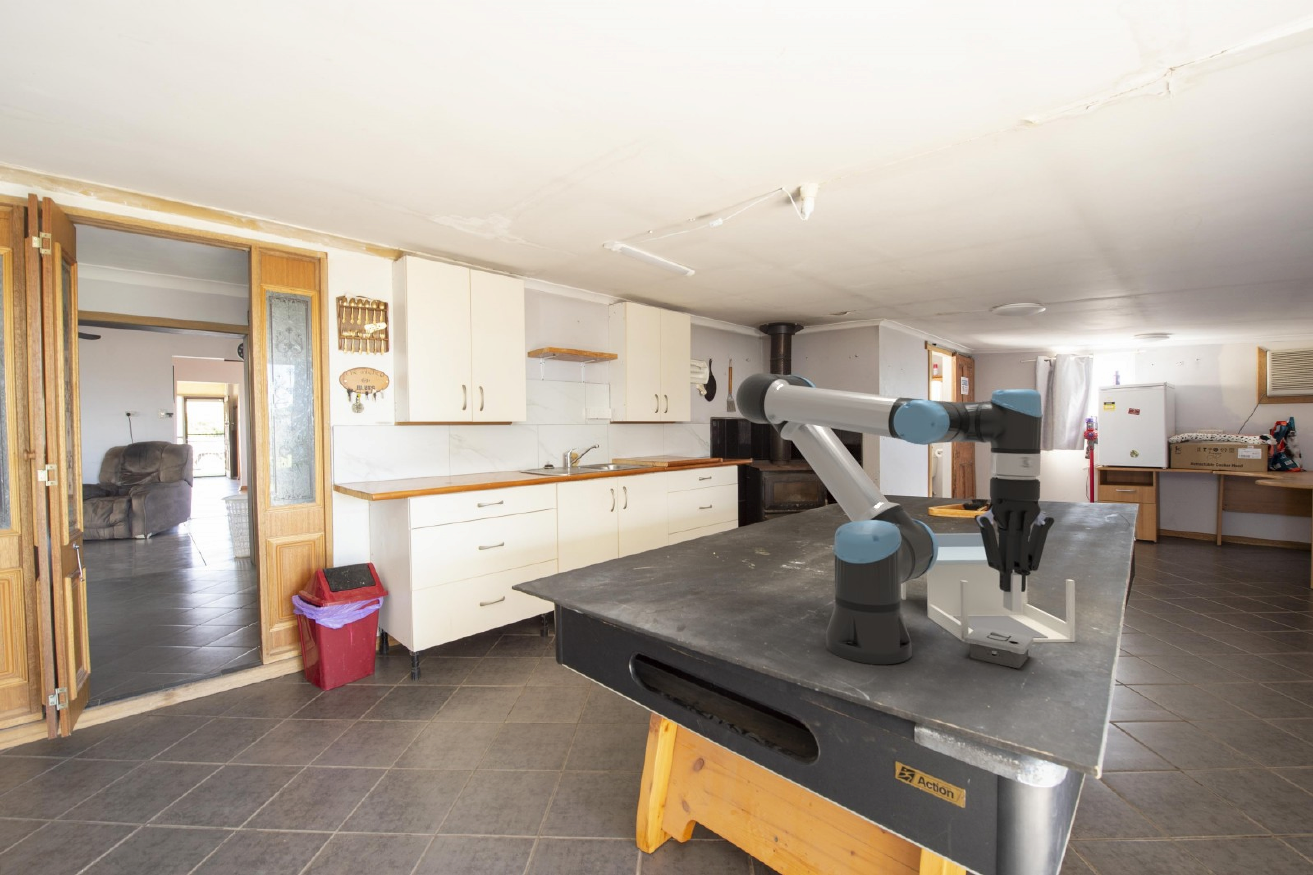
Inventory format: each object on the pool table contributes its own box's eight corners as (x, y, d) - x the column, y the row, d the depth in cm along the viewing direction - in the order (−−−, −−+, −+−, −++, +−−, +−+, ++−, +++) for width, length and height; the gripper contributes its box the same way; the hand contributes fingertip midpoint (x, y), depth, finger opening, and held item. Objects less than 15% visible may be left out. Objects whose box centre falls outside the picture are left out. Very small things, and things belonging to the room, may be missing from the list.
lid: (930, 563, 125) (930, 546, 125) (901, 549, 140) (901, 534, 140) (1029, 563, 124) (1029, 545, 124) (990, 548, 140) (990, 533, 140)
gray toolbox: (1025, 650, 97) (966, 628, 103) (1018, 679, 98) (960, 655, 104) (1036, 637, 104) (980, 618, 110) (1030, 664, 104) (974, 643, 111)
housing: (963, 642, 111) (963, 581, 111) (901, 598, 141) (901, 550, 140) (1075, 642, 111) (1074, 580, 111) (989, 598, 140) (989, 549, 140)
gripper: (989, 479, 97) (986, 616, 98) (1067, 479, 97) (1063, 617, 97) (966, 474, 104) (963, 602, 105) (1038, 475, 104) (1035, 603, 105)
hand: (1011, 609), depth 101 cm, fingers closed
